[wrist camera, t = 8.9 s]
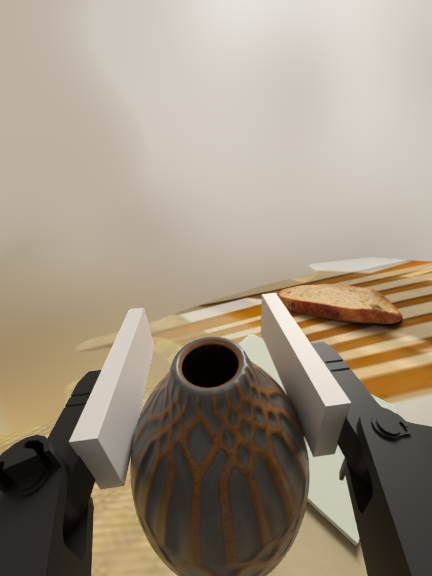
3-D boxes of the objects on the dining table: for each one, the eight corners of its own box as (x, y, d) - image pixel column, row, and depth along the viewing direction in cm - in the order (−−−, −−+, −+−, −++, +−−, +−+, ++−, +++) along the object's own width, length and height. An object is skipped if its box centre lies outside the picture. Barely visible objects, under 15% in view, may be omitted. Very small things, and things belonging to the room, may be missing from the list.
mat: (396, 411, 25) (398, 408, 25) (356, 546, 16) (357, 543, 16) (251, 336, 38) (251, 333, 38) (186, 389, 29) (186, 386, 29)
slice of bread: (266, 300, 48) (267, 285, 47) (329, 281, 54) (331, 266, 52) (336, 354, 34) (341, 334, 32) (412, 319, 39) (420, 301, 38)
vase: (222, 400, 15) (212, 287, 11) (324, 487, 11) (370, 353, 7) (127, 492, 11) (57, 367, 7) (228, 696, 7) (196, 671, 3)
